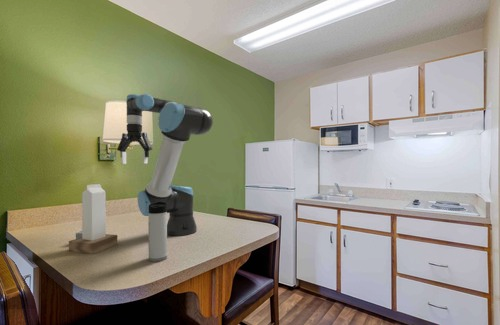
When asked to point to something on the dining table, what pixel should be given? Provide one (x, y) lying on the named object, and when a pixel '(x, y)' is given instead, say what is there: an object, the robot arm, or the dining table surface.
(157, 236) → the travel mug
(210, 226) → the dining table surface
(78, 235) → the grey block
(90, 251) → the stand
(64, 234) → the dining table surface
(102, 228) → the milk
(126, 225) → the dining table surface
